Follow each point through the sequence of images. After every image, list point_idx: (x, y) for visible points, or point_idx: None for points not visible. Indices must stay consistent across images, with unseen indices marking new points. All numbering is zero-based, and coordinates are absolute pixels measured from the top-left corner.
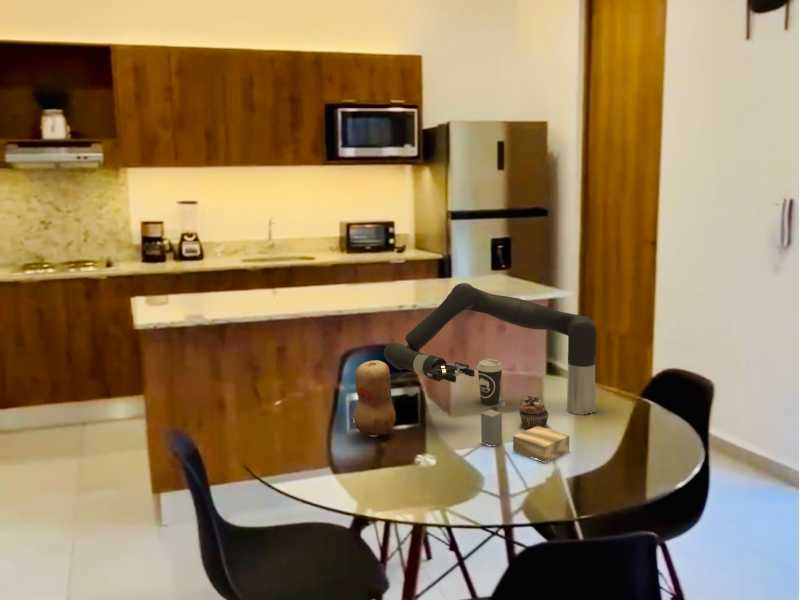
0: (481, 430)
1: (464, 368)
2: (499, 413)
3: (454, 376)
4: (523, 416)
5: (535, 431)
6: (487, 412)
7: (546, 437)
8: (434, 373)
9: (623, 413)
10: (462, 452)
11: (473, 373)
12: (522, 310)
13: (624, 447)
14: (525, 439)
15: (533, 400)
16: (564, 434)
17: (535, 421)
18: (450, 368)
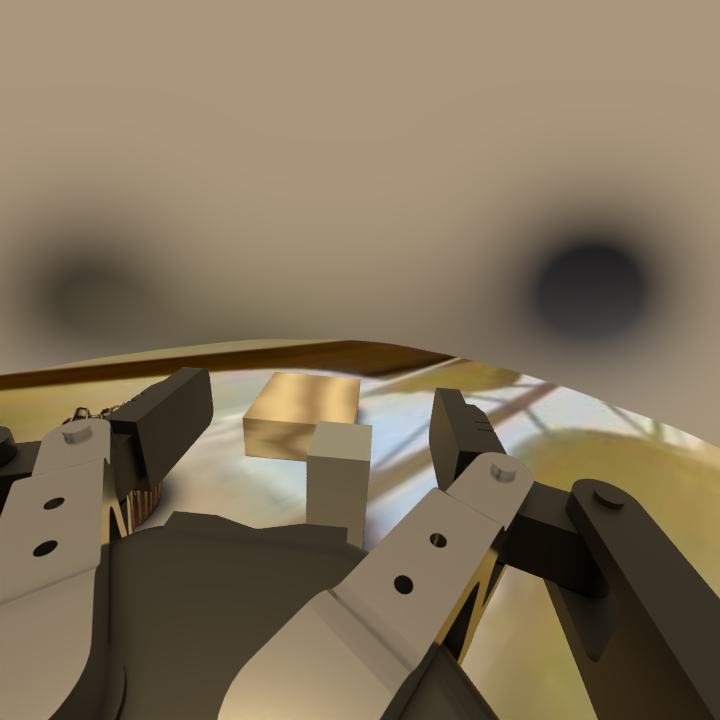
0: (364, 521)
1: (113, 440)
2: (326, 422)
3: (454, 390)
4: None
5: (288, 409)
6: (345, 450)
7: (310, 389)
8: (703, 594)
9: None
10: None
11: (207, 390)
12: None
13: (212, 367)
14: (351, 406)
15: (111, 412)
16: (272, 377)
17: None
18: (230, 542)
